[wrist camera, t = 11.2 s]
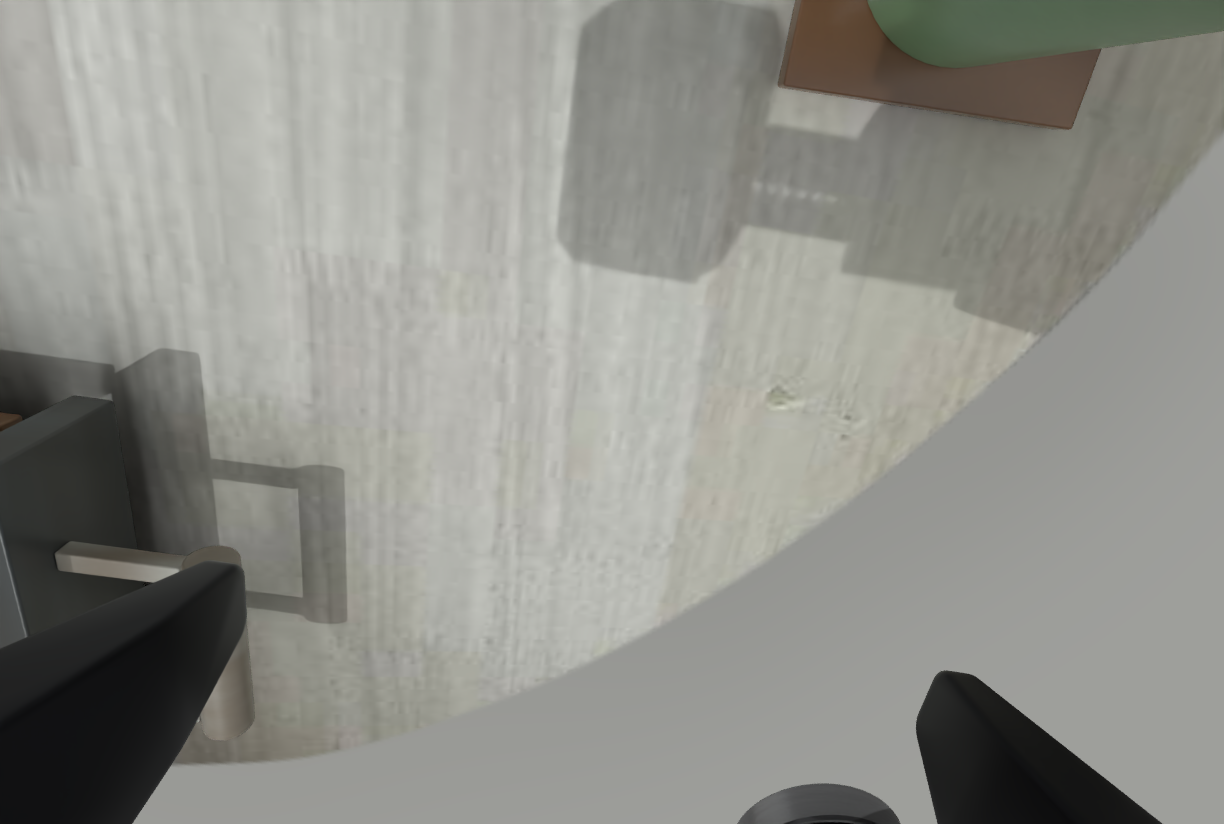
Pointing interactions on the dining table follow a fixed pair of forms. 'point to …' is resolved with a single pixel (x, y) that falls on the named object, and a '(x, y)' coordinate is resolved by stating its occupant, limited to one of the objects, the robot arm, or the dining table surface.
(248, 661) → the drawer
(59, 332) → the dining table surface
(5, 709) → the robot arm
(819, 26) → the plate
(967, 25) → the green bottle
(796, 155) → the dining table surface
